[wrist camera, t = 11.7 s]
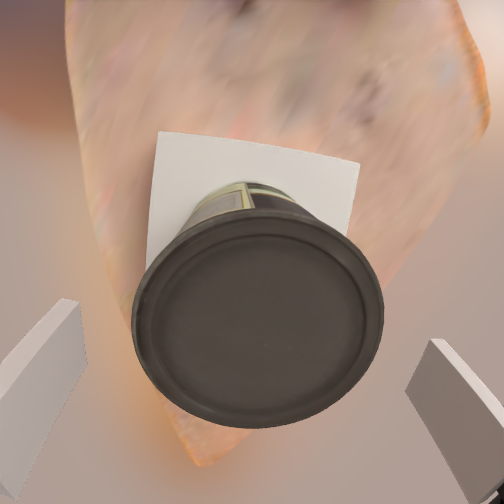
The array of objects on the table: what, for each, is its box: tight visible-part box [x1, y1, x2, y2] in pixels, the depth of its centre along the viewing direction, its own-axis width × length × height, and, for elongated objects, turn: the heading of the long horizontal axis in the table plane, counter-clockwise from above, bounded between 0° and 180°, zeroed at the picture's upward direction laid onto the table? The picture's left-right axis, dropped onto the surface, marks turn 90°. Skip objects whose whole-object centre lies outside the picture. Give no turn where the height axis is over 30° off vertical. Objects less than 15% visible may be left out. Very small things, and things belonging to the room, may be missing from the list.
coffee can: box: [131, 181, 384, 429], centre depth 19 cm, size 10×10×14 cm
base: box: [146, 131, 360, 270], centre depth 28 cm, size 16×16×5 cm
